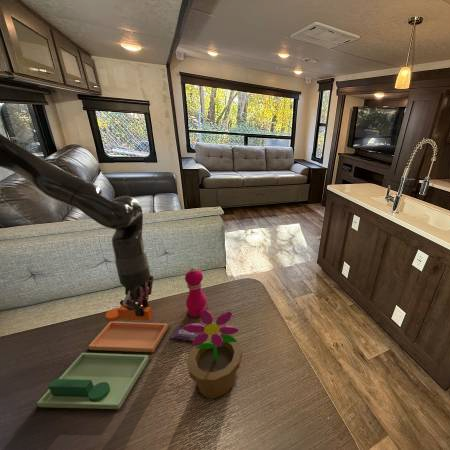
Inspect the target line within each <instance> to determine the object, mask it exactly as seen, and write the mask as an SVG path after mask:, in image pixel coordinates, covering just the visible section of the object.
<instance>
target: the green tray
mask: <svg viewBox="0 0 450 450" xmlns="http://www.w3.org/2000/svg"><path fill="white" fill-rule="evenodd" d="M149 360H150V356H149V354H128V353H127V354H122V353H101V352H100V353H97V352H81V353H80V354H79V355H78V357H77V358H76V359H75V360H74V361H73V362H72V363H71V364H70V365H69V367H68V368H67V369H66V370H65V371H64V373H62V374H61V376H59V378H58V379H76V380H92V383H93V386H95V385H96V384H98V383H101V382H107V383H109V386H110V392H109V394H108V395H107V396H106V397H105V398H104V399H102V400H100V401H98V402H91V401H90V400H89V397H69V396H53V395H52V393H51V391H50V389H49V388H48V390H47V391H46V392H45V393H44V394H43V396H41V398H40V399H39V400H38V401H37V402H36V404H37V406H38V408H61V409H62V408H64V409H100V410H101V409H103V410H104V409H108V410H120V408H121V407H122V405H123V403H124V402H125V400H126V398H127V397H128V395H129V393H130V392H131V391H132V388H133V387H134V385H135V384H136V382H137V380H138V378H139V377H140V375H141V374H142V371H143V370H144V368H145V367H146V365H147V363H148V361H149Z"/></svg>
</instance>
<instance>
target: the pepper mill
mask: <svg viewBox="0 0 450 450" xmlns="http://www.w3.org/2000/svg"><path fill="white" fill-rule="evenodd" d="M203 279H204V274H203V272H202V271H201V270H200V269H197V268H196V266H195V267H194V266H192V267H191V268H190V270H188V271H187V272H186V273H185V276H184V280H185V283H186V284H187V286H186V287H187V289H188V290H189V291H188V292H189V293H188V296H187V298H186V301H185V306H186V308H187V312H188V313H187V314H188V315H189V316H190V317H192V318H198V317H201V310H204V309H206V310H207V306H206V305H207V297H206V295H205V294H204V293H203V290H202V286H203Z"/></svg>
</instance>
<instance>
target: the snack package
mask: <svg viewBox="0 0 450 450" xmlns="http://www.w3.org/2000/svg"><path fill="white" fill-rule="evenodd" d="M201 333H205V332H204V331H202V332H199V333H190V332H188V331H186V330H184V326H177V328H175V331H174V332H173V333H172V334H171V336H170V339H175V340H182V341H189V342H190V341H191V342H193V341H194V338H196V337H197V336H198V335H199V334H201Z"/></svg>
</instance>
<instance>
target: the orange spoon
mask: <svg viewBox="0 0 450 450" xmlns="http://www.w3.org/2000/svg"><path fill="white" fill-rule="evenodd" d="M143 309H144V316H143V317H137V316H136V315H135V310H127V309H126V308H124V307H123V306H122V305H120V306H119V307H114V308H112V309H110V310H108V311H107V312H106V313H105V315H104V317H105V320H106V321H107V322H112V321H116V322H117V321H119V320H127V321H146V322H150V321H151V319H152V318H153V311H152V307H151V306H149V307H143Z"/></svg>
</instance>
